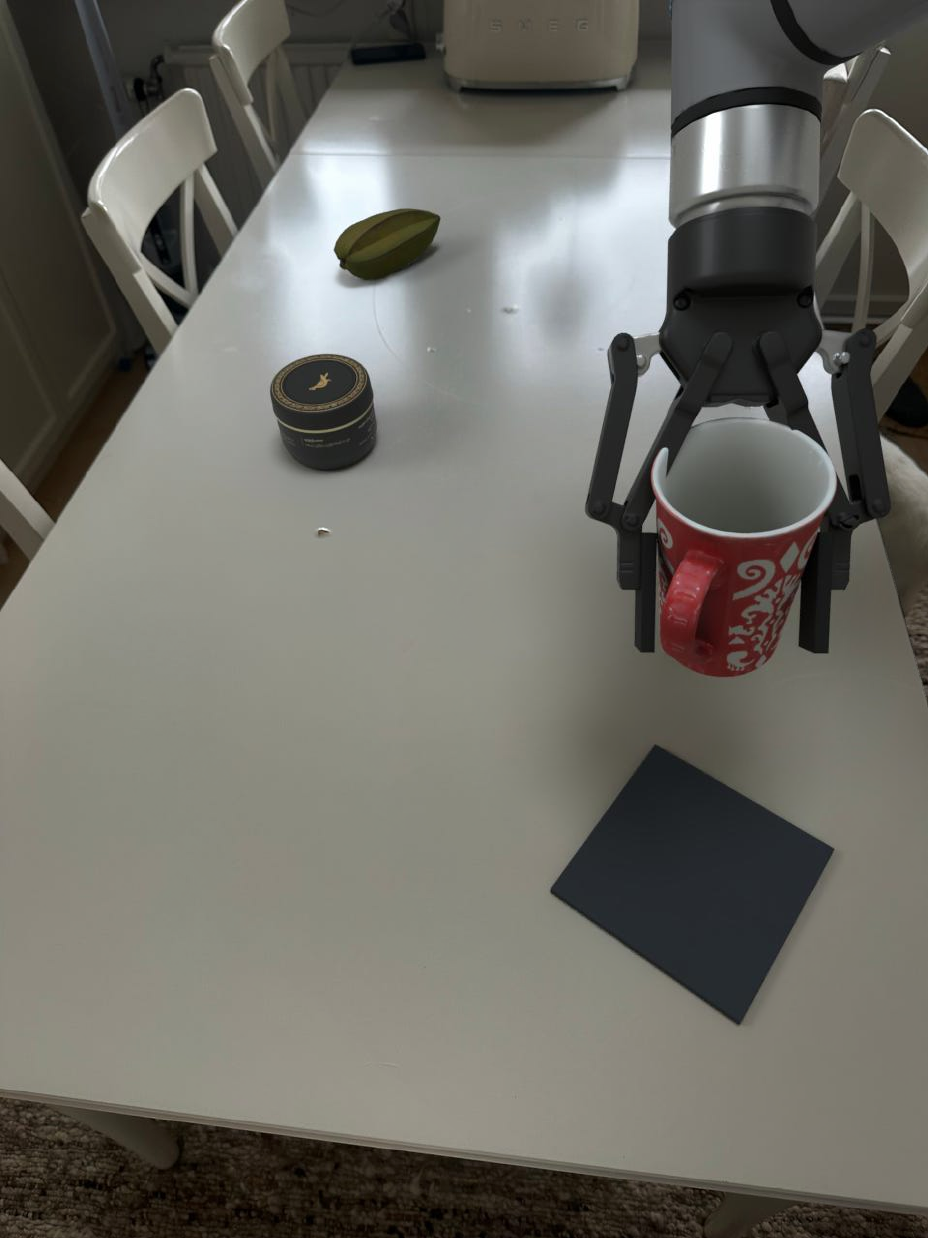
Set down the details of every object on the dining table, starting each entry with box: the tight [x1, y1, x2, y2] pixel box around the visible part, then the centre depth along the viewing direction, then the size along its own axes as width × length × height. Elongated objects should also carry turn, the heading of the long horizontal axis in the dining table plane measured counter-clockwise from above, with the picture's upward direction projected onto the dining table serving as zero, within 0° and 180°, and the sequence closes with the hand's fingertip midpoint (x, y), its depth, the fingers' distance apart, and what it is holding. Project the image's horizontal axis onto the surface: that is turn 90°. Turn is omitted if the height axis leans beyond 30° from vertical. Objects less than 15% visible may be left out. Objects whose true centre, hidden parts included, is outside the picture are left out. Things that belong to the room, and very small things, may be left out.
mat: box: [549, 743, 835, 1025], centre depth 59 cm, size 14×14×1 cm
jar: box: [269, 353, 378, 471], centre depth 87 cm, size 10×10×8 cm
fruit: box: [333, 207, 441, 281], centre depth 109 cm, size 11×12×7 cm
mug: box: [651, 416, 837, 678], centre depth 48 cm, size 13×9×14 cm
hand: (728, 649), depth 48 cm, fingers closed on mug, 8 cm apart
